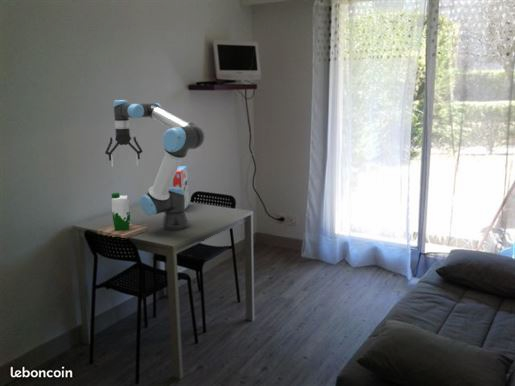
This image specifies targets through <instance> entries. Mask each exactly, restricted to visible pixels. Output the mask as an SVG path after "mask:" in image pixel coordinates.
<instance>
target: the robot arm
mask: <svg viewBox="0 0 515 386" xmlns="http://www.w3.org/2000/svg"><path fill="white" fill-rule="evenodd" d="M128 102H129V101H128V100H126V99H116V100H114V101H113V114H114V128H115V137H112V136H111V137H110V138H109V143H108V146H107V148H106V150H105V155H108V161H110V162H111V167H112V168H113V167H114V157H113V152H114V151H115V150H116V149H117V148H118V146H119V145H120V146H123V145H124V146H127V145H129V146H130V148H131V149H133V151H135V156H136V157H135V158H136V159H135V161H136V166H139V160H140V159H141V157H140V155H141V153H143V149H142V148H141V146H140V145H139V142H138V141H137V138H136V136H131V133H130V130H131V129H130V119H141V118H150V119H152V120H154V121H157V123H160V124H161V125H163V126H165V127H166V128H168V129H167V130H166V131H165V132H164V134H163V136H162V145H163V148H164V149H163V150H164V151H165V154H164V156H163V158H162V162H161V164H160V167H159V169H158V171H157V175H156V177H155V179H154V182H153V185H151V186H150V187H149V188H148V189H147V190H148V191H147V192H146V194H143V195H142V196H140V199H139V203H140V208H141V211H143V213H144V214H146V215H147V216H156V215H158V214H162V213H164V214H163V220H162V222H161V227H162V229H163V230H169V231H177V230H178V231H179V230H184V229H186V228H188V227H189V226H190V224H189V220H188V217H187V215H186V214H187V213H186V209H185V198H184V196H185V195H184V190H183V188H180V187H173V186H172V184H173V179H174V176H175V174H176V172H177V169H178V167H179V166H180V164H181V161H182V159H185V158H186V157H187V155H188V152H189V150H195V149H197V148H198V149H199V147H201V146H202V145H203V144H204V141H205V132H204V130H203V128H201V127H200V126H199V125H198V124H195V123H194V122H188V121H186V120H184V119H182V118H180V117H178V116H177V115H175V114H173V113H170V112H169V111H167V110H165V109H163V107H162V106H161V104H160V103H156V102H151V103H128ZM131 140H132V141H133V142H134V143H135V145H136V147H137V148H136V147H135V146H134V145H133V144H132V143H131V142H130V141H131ZM114 141H116V143H115V145H114V146H113V147H112V144H113V142H114ZM111 147H112V149H111V150H110V148H111Z"/></svg>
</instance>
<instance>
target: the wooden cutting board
mask: <svg viewBox="0 0 515 386" xmlns="http://www.w3.org/2000/svg"><path fill="white" fill-rule="evenodd" d="M96 232H97V234H98V235H101V234H102V236H106V235H107V236H106V237H110V236H112V237H111V238H114V237H121V238H125V239H128V238H131V237H133V236H137V235H139V234H143V233H145V232H148V226H142V225H139V224H134V223H129V230H120V231H115V228H114V224H112V225H110V226H107V227H103V228H99V229H97V231H96Z"/></svg>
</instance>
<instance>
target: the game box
mask: <svg viewBox="0 0 515 386" xmlns="http://www.w3.org/2000/svg"><path fill="white" fill-rule="evenodd" d="M188 177H189V176H188V166H187V165H183V166H181V165H179V167H178V169H177V172H176V174H175V176H174V179H173V181H172V184H173V185H172V187H180V188H183V190H184V195H185V196H184V198H185V210H186V209H187V208H188V207H189V205H190V204H189V202H190V200H189V199H190V198H189V183H188Z"/></svg>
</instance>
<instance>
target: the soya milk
mask: <svg viewBox="0 0 515 386" xmlns="http://www.w3.org/2000/svg"><path fill="white" fill-rule="evenodd" d="M111 211H112V212H111V213H112V223H113V225H114V228H115V231H120V230H129V224H131V215H130V214H131V213H130V201H129V196H128V195H120V193H119V192H113V193H111Z"/></svg>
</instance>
